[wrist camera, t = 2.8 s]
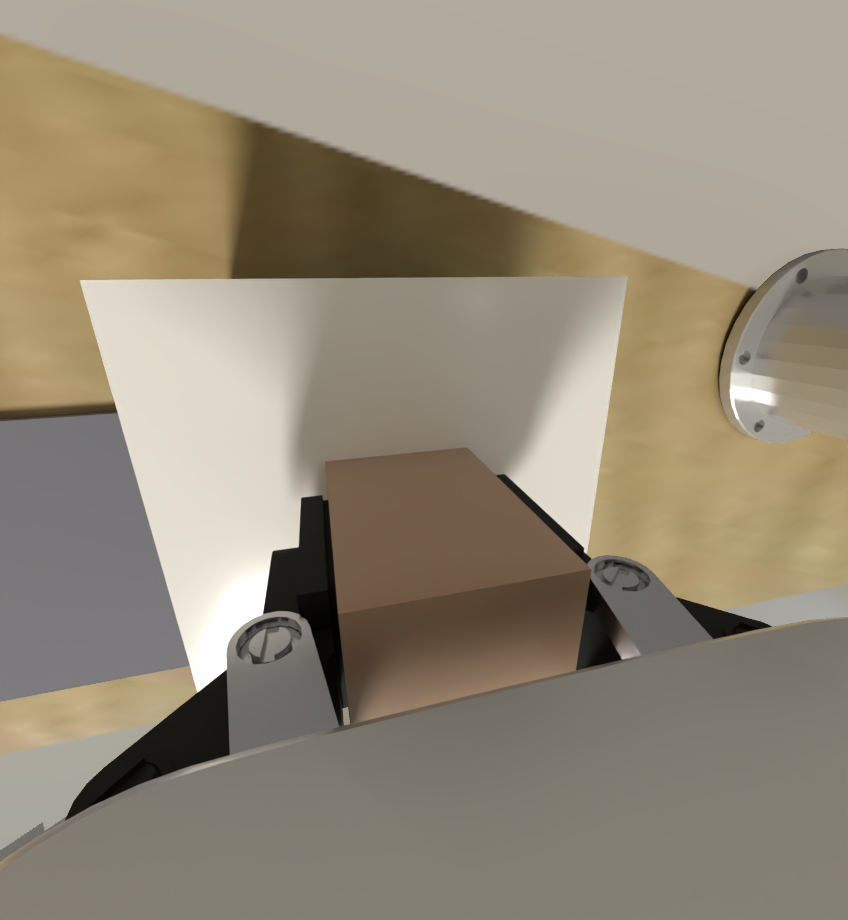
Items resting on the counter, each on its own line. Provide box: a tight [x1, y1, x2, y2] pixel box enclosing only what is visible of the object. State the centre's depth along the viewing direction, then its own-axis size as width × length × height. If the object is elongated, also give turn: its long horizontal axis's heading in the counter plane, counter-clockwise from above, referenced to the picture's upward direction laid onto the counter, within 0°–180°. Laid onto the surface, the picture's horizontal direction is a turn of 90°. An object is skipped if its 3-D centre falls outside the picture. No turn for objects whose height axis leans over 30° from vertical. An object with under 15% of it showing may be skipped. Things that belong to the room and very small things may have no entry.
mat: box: [0, 412, 190, 701], centre depth 23 cm, size 16×16×1 cm
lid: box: [80, 276, 628, 724], centre depth 11 cm, size 13×13×8 cm
